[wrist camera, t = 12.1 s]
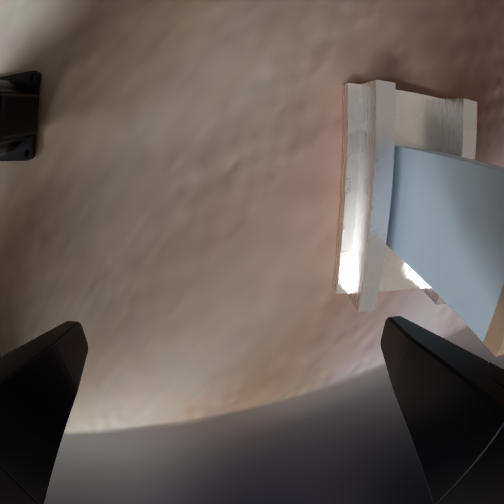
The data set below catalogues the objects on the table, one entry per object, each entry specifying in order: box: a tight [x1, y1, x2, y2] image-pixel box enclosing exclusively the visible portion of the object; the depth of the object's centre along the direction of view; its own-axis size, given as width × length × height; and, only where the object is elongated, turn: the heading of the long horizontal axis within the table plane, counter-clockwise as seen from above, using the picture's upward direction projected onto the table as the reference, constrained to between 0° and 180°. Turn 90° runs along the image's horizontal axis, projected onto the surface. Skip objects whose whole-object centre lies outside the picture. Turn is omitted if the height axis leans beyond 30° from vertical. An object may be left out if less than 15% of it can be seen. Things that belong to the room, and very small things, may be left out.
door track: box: [333, 80, 477, 312], centre depth 19 cm, size 9×14×4 cm, turn 1°
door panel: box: [386, 146, 504, 356], centre depth 14 cm, size 3×6×12 cm, turn 1°
